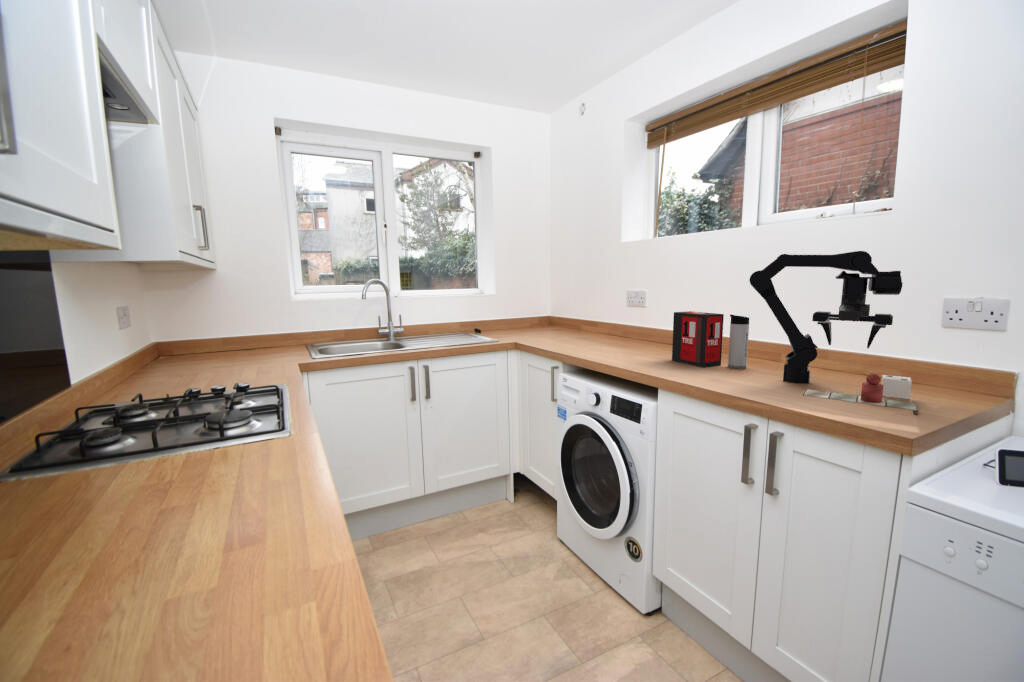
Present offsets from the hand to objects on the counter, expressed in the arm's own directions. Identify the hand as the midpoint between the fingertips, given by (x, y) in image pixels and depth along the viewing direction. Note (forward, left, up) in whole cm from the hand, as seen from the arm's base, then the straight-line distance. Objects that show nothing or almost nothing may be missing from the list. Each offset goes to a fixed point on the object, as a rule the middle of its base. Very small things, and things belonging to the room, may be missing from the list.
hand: (848, 346), depth 133 cm
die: (+11, -6, -13) cm, 18 cm away
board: (+3, -17, -13) cm, 21 cm away
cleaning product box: (-49, +15, -13) cm, 53 cm away
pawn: (+6, -17, -12) cm, 21 cm away
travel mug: (-34, +15, -13) cm, 39 cm away
